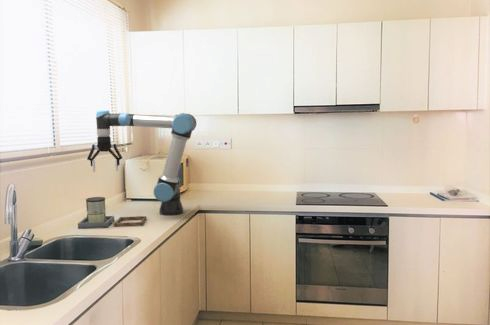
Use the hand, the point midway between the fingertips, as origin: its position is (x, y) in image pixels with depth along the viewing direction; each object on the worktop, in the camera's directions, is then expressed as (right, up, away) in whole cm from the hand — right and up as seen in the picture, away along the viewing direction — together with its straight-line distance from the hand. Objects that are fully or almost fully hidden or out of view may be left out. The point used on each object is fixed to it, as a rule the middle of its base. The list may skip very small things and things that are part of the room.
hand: (105, 171), depth 249 cm
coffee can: (0, -29, -14) cm, 33 cm away
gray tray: (0, -30, -14) cm, 33 cm away
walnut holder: (+19, -30, -12) cm, 37 cm away
